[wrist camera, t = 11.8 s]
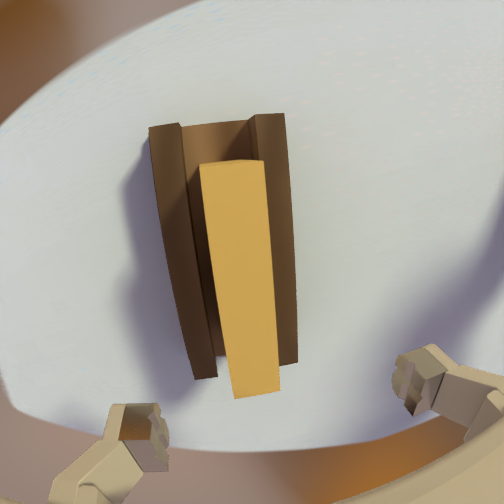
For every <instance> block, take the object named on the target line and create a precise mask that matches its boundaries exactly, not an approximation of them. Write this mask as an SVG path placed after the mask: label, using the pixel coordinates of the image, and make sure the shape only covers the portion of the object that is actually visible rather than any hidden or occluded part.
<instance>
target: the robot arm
mask: <svg viewBox="0 0 504 504" xmlns="http://www.w3.org/2000/svg"><path fill="white" fill-rule="evenodd" d="M395 365H396V366H397V369H396V371H395V372H394V373H393V376H392V387H393V390H394V392H395V394H396V395H397V396H398V397H399V398H401V399H404V406H405V407H406V408H407V410H408V411H409V412H410V414H411V415H412V416H415V415H418V414H420V413H423V412H425V411H427V410H430V409H431V410H433V411H435V412H437V413H439V414H441V415H443V416H445V417H447V418H449V419H451V420H453V421H455V422H457V423H459V424H461V425H463V426H466V427H468V428H469V430H468V432H467V433H466V435H465V437H464V442H465V443H464V444H463V445H461V446H460V447H458V448H456V449H455V450H453V451H451V452H450V453H448V454H446V455H445V456H443V457H441V458H439V459H437V460H435V461H434V462H432V463H430V464H428V465H426V466H424V467H422V468H420V469H418V470H416V471H414V472H412V473H410V474H408V475H406V476H403V477H401V478H399V479H397V480H394V481H392V482H390V483H387V484H385V485H383V486H380V487H378V488H375V489H373V490H370V491H367V492H365V493H362V494H359V495H357V496H353V497H351V498H348V499H345V500H341V501H339V502H335V503H332V504H504V376H500V375H496V374H493V373H489V372H485V371H482V370H478V369H475V368H471V367H467V366H464V365H459V366H458V365H457V364H456V363H455V362H454V361H452V360H451V359H450V358H449V357H448V356H447V355H446V354H445V353H444V352H443V351H442V350H441V349H440V348H438V347H437V346H436V345H435V344H432V343H431V344H429V345H426V346H423V347H421V348H418V349H415V350H413V351H410V352H407V353H404V354H402V355H399V356H398V357H397V359H396V363H395ZM160 415H161V410H160V408H159V405H158V404H157V403H127V404H113V405H112V406H111V407H110V411H109V415H108V419H107V422H106V426H105V430H104V434H103V439H102V440H98V441H96V442H95V443H94V444H93V445H92V446H91V447H90V448H89V449H88V450H86V451H85V452H84V453H83V454H82V455H81V456H80V457H79V458H77V459H76V460H75V461H74V462H73V463H72V464H71V465H69V466H68V467H67V468H66V469H65V470H64V471H63V472H61V473H60V474H59V475H58V476H57V477H56V478H55V479H54V481H53V485H52V489H51V492H50V496H49V500H48V503H47V504H121V503H122V502H123V501H124V499H125V498H126V497H127V495H128V494H129V493H130V491H131V490H132V489H133V487H134V486H135V485H136V483H137V482H138V480H139V479H140V478H141V476H142V475H143V472H166V471H168V460H169V455H168V453H167V451H166V448H167V447H168V446H169V431H168V427H167V424H166V421H165V419H163V418H162V417H160ZM0 504H25V503H22V502H19V501H16V500H13V499H10V498H8V497H5V496H2V495H0Z"/></svg>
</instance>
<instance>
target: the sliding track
mask: <svg viewBox="0 0 504 504" xmlns="http://www.w3.org/2000/svg"><path fill="white" fill-rule="evenodd" d="M149 142H150V152H151V160H152V168H153V176H154V184H155V191H156V198H157V205H158V211H159V218H160V224H161V230H162V236H163V242H164V247H165V253H166V258H167V264H168V269H169V274H170V279H171V284H172V289H173V293H174V298H175V303H176V307H177V312H178V316H179V321H180V325H181V329H182V333H183V337H184V342H185V346H186V350H187V354H188V357H189V360H190V364H191V367H192V371H193V375H194V378H195V380H198V379H205V378H213V377H218V373H217V365H216V356H222V355H226V350H225V344H224V338H223V333H222V327H221V321H220V314H219V308H218V302H217V296H216V289H215V283H214V276H213V269H212V262H211V255H210V248H209V241H208V234H207V226H206V219H205V211H204V203H203V195H202V187H201V178H200V169H199V164H205V163H213V162H221V161H230V160H258V161H264V171H265V183H266V194H267V206H268V218H269V231H270V243H271V256H272V270H273V283H274V297H275V312H276V327H277V343H278V359H279V366H283V365H288V364H293V363H298V336H297V301H296V275H295V253H294V234H293V218H292V202H291V188H290V174H289V162H288V150H287V138H286V127H285V117H284V113H275V114H256V115H254V116H252V117H251V118H250V119H248V120H239V121H228V122H218V123H209V124H200V125H193V126H185V127H181V126H180V124H179V123H172V124H166V125H160V126H154V127H149Z"/></svg>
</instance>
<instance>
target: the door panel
mask: <svg viewBox="0 0 504 504" xmlns="http://www.w3.org/2000/svg"><path fill="white" fill-rule="evenodd" d="M199 169H200V178H201V187H202V195H203V203H204V211H205V219H206V226H207V234H208V241H209V248H210V255H211V262H212V269H213V276H214V283H215V289H216V296H217V302H218V308H219V314H220V321H221V327H222V333H223V338H224V344H225V350H226V356H227V361H228V367H229V372H230V378H231V383H232V389H233V394H234V399H238V398H244V397H250V396H256V395H261V394H266V393H272V392H277V391H280V376H279V359H278V343H277V327H276V312H275V297H274V283H273V270H272V256H271V243H270V231H269V218H268V206H267V194H266V183H265V171H264V161H258V160H230V161H221V162H213V163H205V164H199Z"/></svg>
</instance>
